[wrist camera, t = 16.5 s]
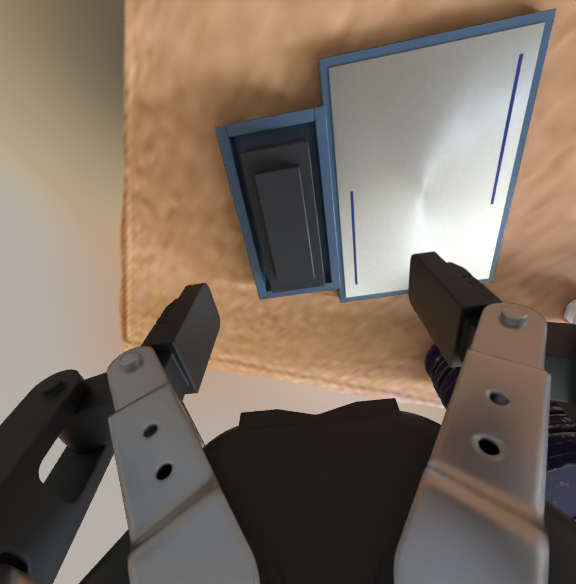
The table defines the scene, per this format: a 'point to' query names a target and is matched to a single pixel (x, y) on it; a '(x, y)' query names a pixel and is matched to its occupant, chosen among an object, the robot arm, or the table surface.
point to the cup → (571, 312)
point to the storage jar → (561, 436)
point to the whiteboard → (429, 148)
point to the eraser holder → (315, 131)
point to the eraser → (285, 213)
